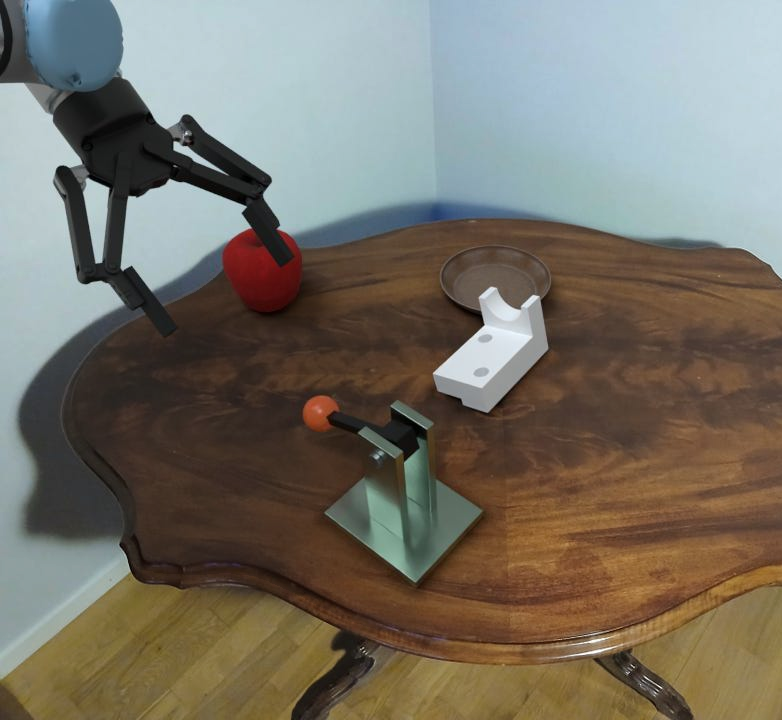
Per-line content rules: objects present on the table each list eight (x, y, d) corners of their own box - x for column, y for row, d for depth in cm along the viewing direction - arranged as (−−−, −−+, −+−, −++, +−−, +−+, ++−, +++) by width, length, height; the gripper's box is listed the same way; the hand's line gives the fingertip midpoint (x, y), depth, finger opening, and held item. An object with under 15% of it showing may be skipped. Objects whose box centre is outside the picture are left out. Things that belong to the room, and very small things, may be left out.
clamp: (325, 519, 72) (304, 428, 62) (394, 457, 78) (385, 365, 68) (416, 589, 67) (409, 502, 57) (483, 517, 73) (486, 426, 63)
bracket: (501, 337, 93) (490, 286, 89) (548, 348, 89) (539, 296, 85) (439, 397, 85) (424, 345, 81) (487, 412, 81) (474, 358, 77)
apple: (301, 329, 92) (287, 259, 84) (225, 326, 92) (204, 256, 84) (315, 280, 99) (304, 212, 92) (245, 278, 99) (227, 210, 92)
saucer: (462, 250, 105) (462, 234, 103) (561, 272, 102) (563, 257, 100) (422, 312, 95) (422, 295, 93) (531, 339, 92) (532, 323, 90)
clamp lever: (303, 434, 72) (289, 405, 70) (330, 413, 74) (317, 384, 72) (400, 473, 63) (387, 441, 61) (428, 448, 65) (416, 416, 63)
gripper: (194, 74, 75) (315, 248, 79) (-56, 169, 61) (106, 375, 65) (215, 34, 69) (344, 225, 73) (-58, 129, 55) (122, 359, 59)
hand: (233, 296), depth 69 cm, fingers open, 13 cm apart
